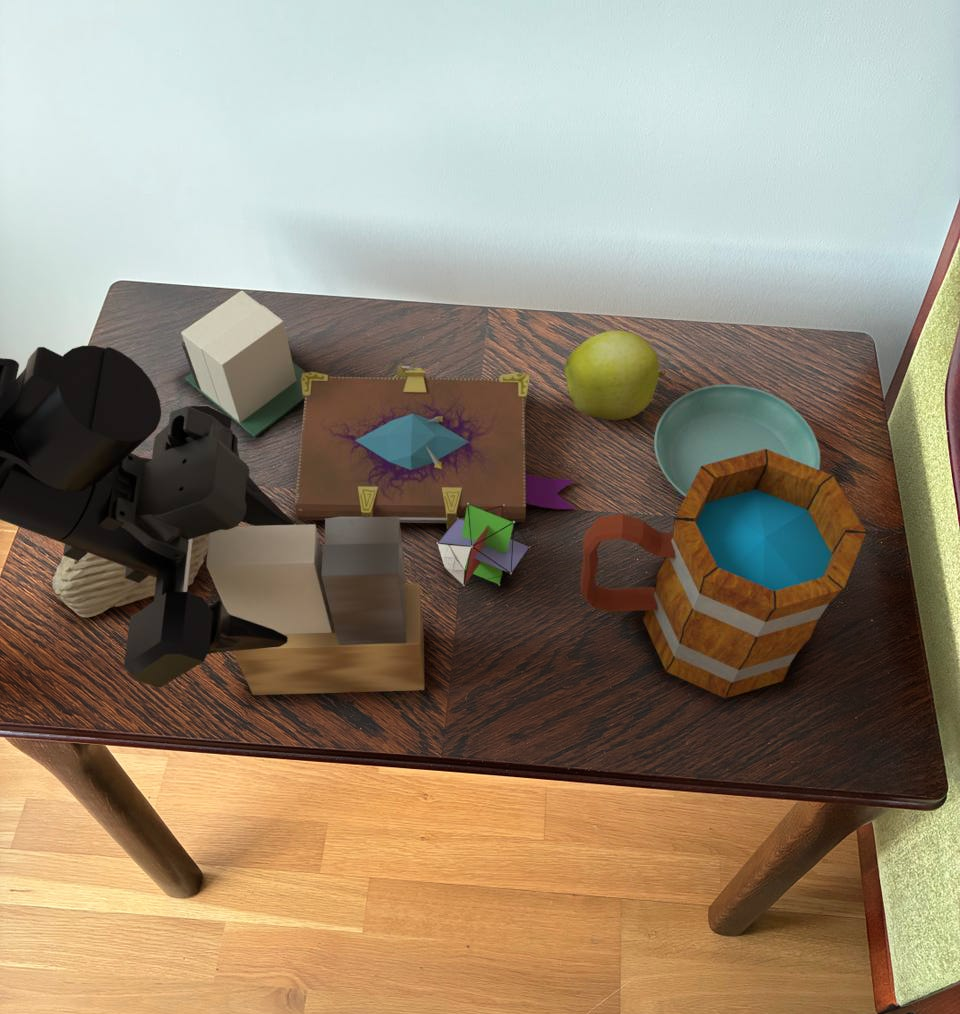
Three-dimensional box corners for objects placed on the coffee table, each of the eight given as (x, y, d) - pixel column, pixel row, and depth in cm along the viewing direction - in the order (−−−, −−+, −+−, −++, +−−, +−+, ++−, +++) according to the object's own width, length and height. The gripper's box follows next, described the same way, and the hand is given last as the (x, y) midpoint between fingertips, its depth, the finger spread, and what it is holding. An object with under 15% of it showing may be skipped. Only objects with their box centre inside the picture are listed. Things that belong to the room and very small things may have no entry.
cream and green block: (254, 438, 94) (237, 378, 87) (185, 379, 97) (162, 317, 90) (322, 386, 96) (310, 325, 89) (252, 331, 100) (236, 268, 92)
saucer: (828, 529, 90) (837, 512, 87) (662, 537, 89) (667, 521, 87) (793, 399, 96) (801, 379, 94) (639, 405, 96) (643, 386, 94)
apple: (668, 428, 95) (684, 369, 88) (573, 446, 94) (582, 387, 87) (642, 365, 98) (656, 303, 91) (551, 382, 97) (558, 320, 90)
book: (575, 537, 90) (580, 508, 85) (295, 534, 90) (285, 504, 85) (569, 387, 97) (574, 352, 92) (309, 384, 97) (301, 349, 92)
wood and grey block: (252, 695, 82) (199, 580, 66) (257, 637, 84) (206, 512, 68) (424, 690, 82) (414, 574, 66) (423, 633, 85) (413, 507, 68)
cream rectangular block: (236, 635, 75) (205, 565, 66) (239, 600, 76) (209, 526, 68) (332, 633, 75) (314, 562, 66) (333, 597, 77) (315, 524, 68)
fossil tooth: (62, 581, 88) (223, 510, 90) (80, 638, 85) (247, 564, 87) (-7, 505, 78) (177, 427, 80) (11, 567, 75) (201, 485, 77)
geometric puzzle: (474, 490, 89) (448, 488, 81) (546, 519, 87) (526, 519, 80) (445, 567, 90) (417, 572, 82) (516, 596, 89) (494, 604, 81)
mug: (799, 561, 88) (858, 455, 75) (809, 704, 82) (876, 616, 69) (572, 545, 89) (591, 436, 75) (565, 685, 83) (585, 594, 69)
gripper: (121, 579, 52) (358, 666, 62) (159, 309, 61) (363, 424, 71) (26, 652, 59) (253, 719, 69) (73, 400, 68) (269, 493, 78)
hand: (287, 583), depth 72 cm, fingers open, 9 cm apart
